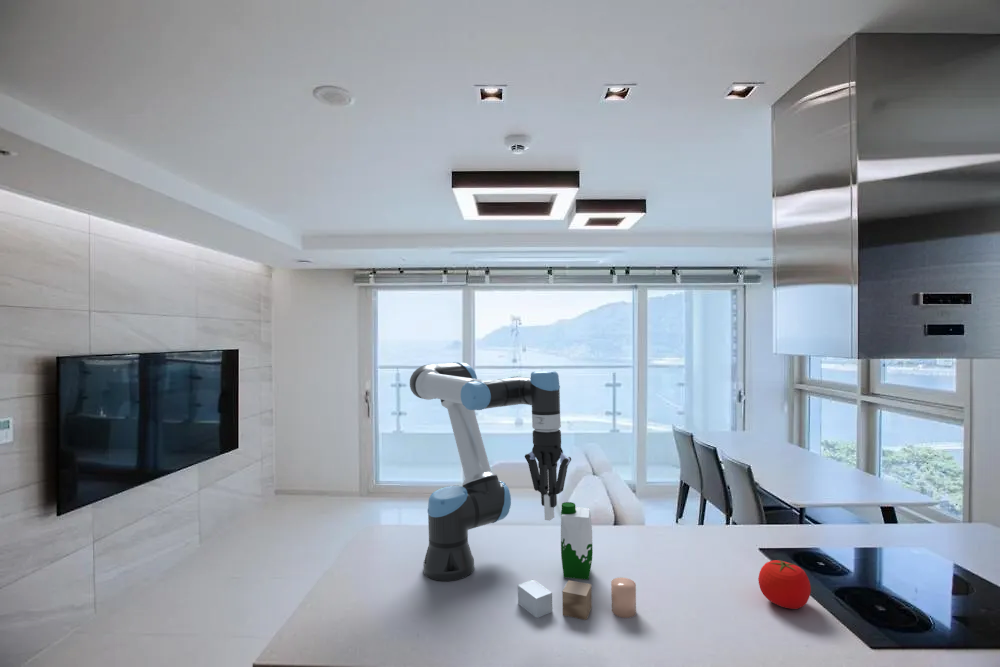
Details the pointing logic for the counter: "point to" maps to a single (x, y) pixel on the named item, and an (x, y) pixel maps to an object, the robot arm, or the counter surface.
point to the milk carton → (576, 541)
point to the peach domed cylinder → (623, 597)
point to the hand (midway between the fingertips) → (549, 518)
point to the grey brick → (535, 598)
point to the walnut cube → (577, 599)
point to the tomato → (784, 584)
